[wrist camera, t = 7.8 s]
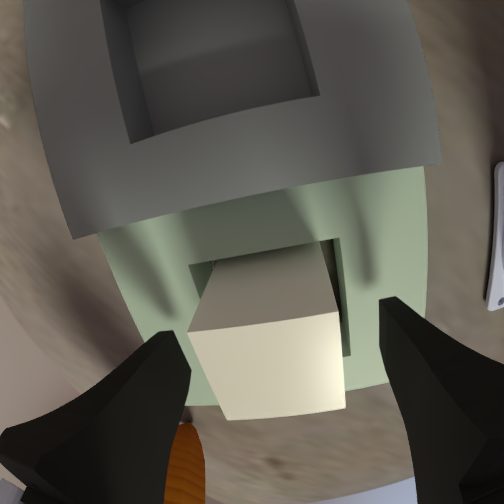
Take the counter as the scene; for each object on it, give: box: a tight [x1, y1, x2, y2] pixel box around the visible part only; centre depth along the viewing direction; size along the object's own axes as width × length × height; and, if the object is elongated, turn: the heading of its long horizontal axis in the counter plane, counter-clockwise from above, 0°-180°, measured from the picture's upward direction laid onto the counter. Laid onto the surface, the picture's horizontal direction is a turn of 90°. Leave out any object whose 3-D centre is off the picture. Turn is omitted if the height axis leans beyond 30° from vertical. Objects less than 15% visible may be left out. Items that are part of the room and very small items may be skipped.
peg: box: [187, 241, 345, 420], centre depth 11 cm, size 4×4×6 cm
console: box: [23, 0, 443, 406], centre depth 10 cm, size 20×12×4 cm, turn 13°
